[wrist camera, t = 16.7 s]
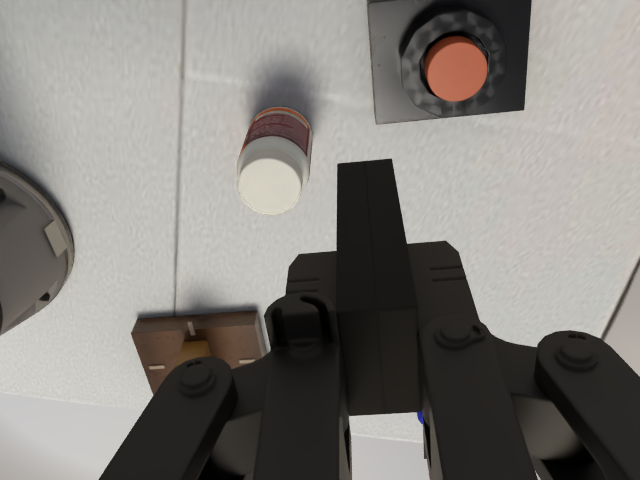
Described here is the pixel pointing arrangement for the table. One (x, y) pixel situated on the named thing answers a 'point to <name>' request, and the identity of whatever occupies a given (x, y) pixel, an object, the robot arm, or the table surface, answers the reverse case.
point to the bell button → (455, 68)
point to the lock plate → (218, 329)
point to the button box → (427, 29)
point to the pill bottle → (275, 160)
